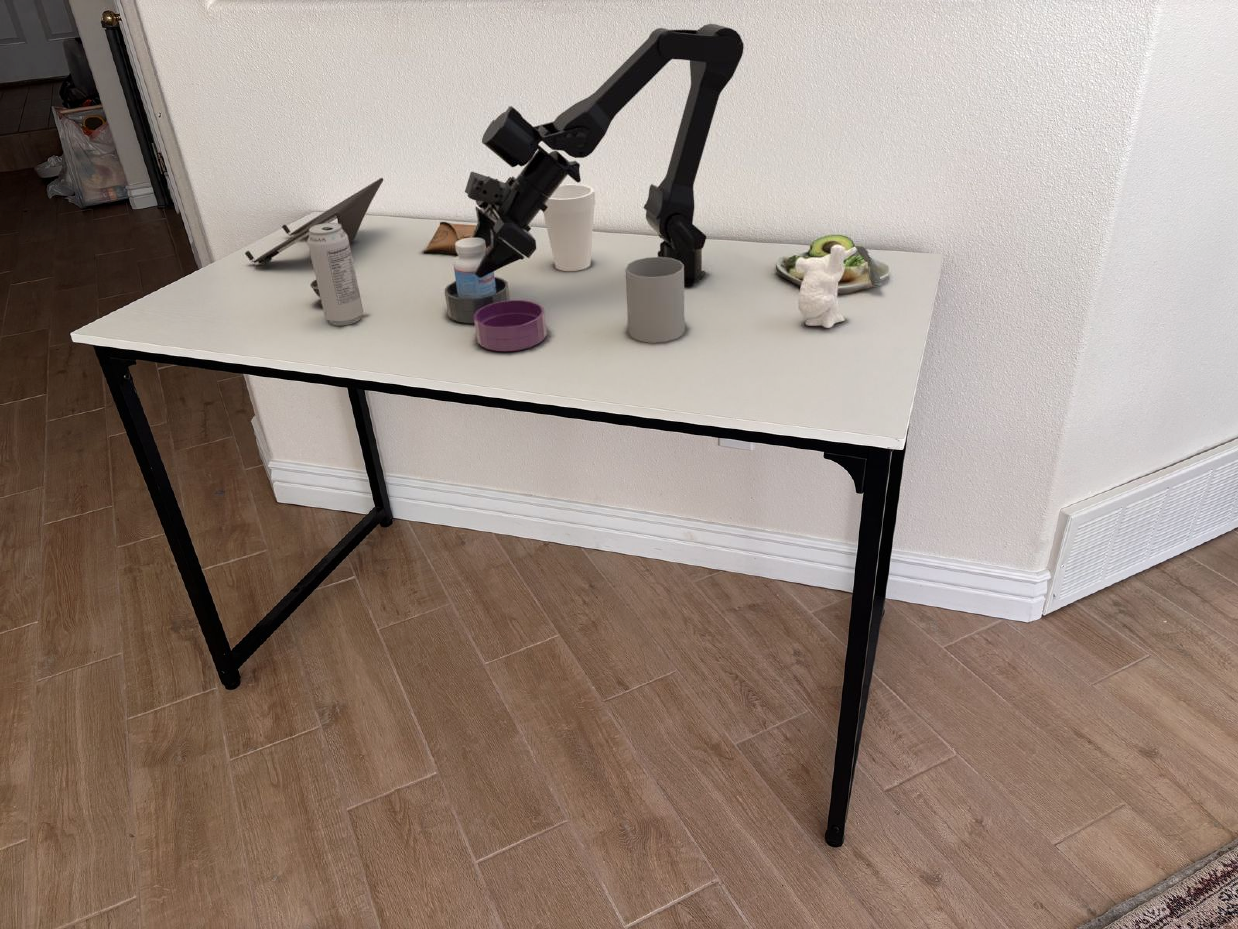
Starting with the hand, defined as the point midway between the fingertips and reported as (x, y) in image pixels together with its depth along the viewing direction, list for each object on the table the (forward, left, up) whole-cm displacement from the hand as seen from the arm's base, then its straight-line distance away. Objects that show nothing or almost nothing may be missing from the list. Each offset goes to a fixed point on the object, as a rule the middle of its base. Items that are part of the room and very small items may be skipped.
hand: (472, 266), depth 144 cm
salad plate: (-48, -34, -8) cm, 59 cm away
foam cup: (-4, -24, -8) cm, 26 cm away
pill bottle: (0, 0, -8) cm, 8 cm away
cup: (-30, -3, -8) cm, 31 cm away
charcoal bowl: (0, 0, -8) cm, 8 cm away
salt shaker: (+26, +5, -8) cm, 28 cm away
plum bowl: (-11, +7, -8) cm, 15 cm away
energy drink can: (+19, +10, -8) cm, 23 cm away
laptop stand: (+47, -15, -8) cm, 50 cm away
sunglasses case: (+18, -25, -8) cm, 32 cm away
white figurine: (-52, -14, -8) cm, 54 cm away
